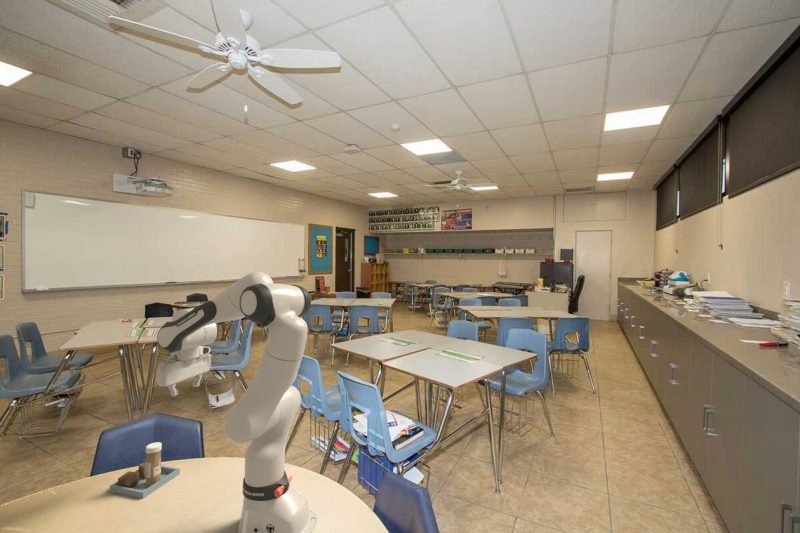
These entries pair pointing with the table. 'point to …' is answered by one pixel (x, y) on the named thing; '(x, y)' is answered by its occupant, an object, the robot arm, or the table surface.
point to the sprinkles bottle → (153, 463)
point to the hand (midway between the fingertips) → (185, 390)
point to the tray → (140, 488)
